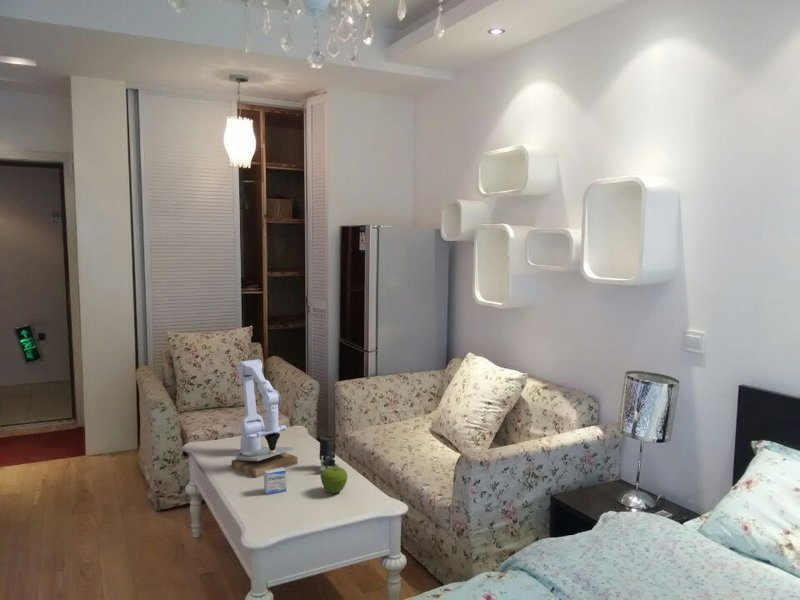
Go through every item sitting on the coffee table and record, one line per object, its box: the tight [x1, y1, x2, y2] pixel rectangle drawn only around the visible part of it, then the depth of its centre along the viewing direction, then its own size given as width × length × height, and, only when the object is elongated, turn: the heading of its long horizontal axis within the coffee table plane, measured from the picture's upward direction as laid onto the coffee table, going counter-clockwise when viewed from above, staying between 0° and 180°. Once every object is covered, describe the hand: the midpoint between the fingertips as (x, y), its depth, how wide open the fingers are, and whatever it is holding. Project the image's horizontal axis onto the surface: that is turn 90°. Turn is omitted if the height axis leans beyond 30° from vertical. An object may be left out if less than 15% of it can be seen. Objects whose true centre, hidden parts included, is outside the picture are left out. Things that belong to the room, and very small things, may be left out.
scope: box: [318, 435, 340, 473], centre depth 264 cm, size 8×14×10 cm
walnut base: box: [231, 452, 298, 478], centre depth 269 cm, size 18×22×3 cm
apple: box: [320, 466, 349, 494], centre depth 240 cm, size 11×10×10 cm
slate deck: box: [235, 446, 294, 461], centre depth 269 cm, size 17×19×3 cm
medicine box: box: [263, 467, 287, 495], centre depth 241 cm, size 8×4×9 cm, turn 117°
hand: (272, 449), depth 265 cm, fingers closed
